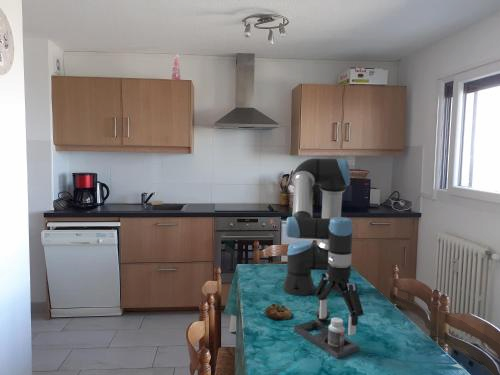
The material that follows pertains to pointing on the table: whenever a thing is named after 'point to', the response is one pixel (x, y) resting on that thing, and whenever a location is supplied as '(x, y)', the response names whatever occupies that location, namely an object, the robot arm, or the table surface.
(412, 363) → the table surface
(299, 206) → the robot arm
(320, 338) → the grey rectangular frame
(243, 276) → the table surface
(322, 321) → the grey chess piece
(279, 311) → the bread roll
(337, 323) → the pill bottle
